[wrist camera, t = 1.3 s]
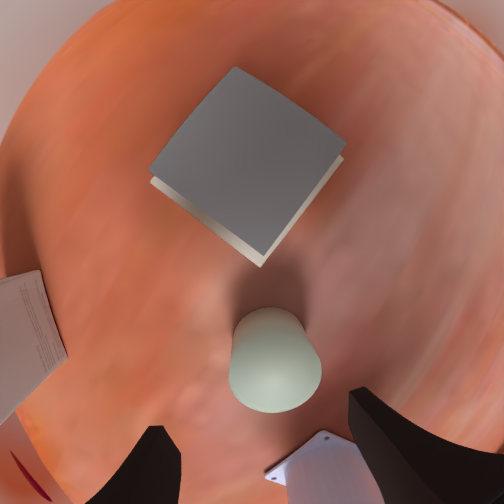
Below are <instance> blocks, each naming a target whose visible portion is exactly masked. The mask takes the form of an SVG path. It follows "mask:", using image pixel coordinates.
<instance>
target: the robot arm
mask: <svg viewBox="0 0 504 504" xmlns="http://www.w3.org/2000/svg"><path fill="white" fill-rule="evenodd" d="M348 424H349V427H350V430H351V433H352V435H353V438H354V441H355V443H356V444H355V443H353V442H351V441H348V440H346V439H343V438H341V437H339V436H337V435H334V434H332V433H330V432H328V431H325V430H323V431H320V432H318V433H317V434H316V435H315V436H313V437H312V438H311V439H310V440H309V441H308V442H306V443H305V444H304V445H303V446H301V447H300V448H299V449H298V450H296V451H295V452H294V453H293V454H291V455H290V456H289V457H287V458H286V459H285V460H283V461H282V462H281V463H279V464H278V465H277V466H275V467H274V468H272V469H271V470H270V471H268V472H267V473H265V479H268V480H270V481H273V482H276V483H279V484H282V485H285V486H286V489H287V496H288V503H289V504H504V454H495V453H488V452H483V451H478V450H474V449H471V448H467V447H464V446H461V445H457V444H455V443H452V442H450V441H447V440H445V439H442V438H440V437H438V436H436V435H434V434H432V433H430V432H428V431H426V430H424V429H422V428H421V427H419V426H417V425H415V424H414V423H412V422H411V421H409V420H408V419H406V418H405V417H403V416H402V415H400V414H399V413H397V412H396V411H395V410H393V409H392V408H391V407H389V406H388V405H387V404H385V403H384V402H383V401H382V400H380V399H379V398H378V397H377V396H375V395H374V394H373V393H372V392H371V391H369V390H368V389H367V388H366V387H361V388H358V389H355V390H352V391H349V412H348ZM325 437H327V438H325ZM180 482H181V453H180V451H179V450H178V448H177V447H176V445H175V444H174V442H173V441H172V439H171V438H170V436H169V435H168V433H167V432H166V430H165V428H164V427H163V426H149V427H148V428H147V429H146V431H145V432H144V434H143V435H142V437H141V438H140V439H139V441H138V442H137V444H136V445H135V447H134V448H133V450H132V451H131V453H130V454H129V455H128V457H127V458H126V459H125V461H124V462H123V464H122V465H121V466H120V468H119V469H118V470H117V471H116V473H115V474H114V475H113V476H112V477H111V479H110V480H109V481H108V482H107V483H106V484H105V485H104V486H103V488H102V489H101V490H100V491H99V492H98V493H97V494H95V495H94V496H93V497H92V498H91V499H90V500H89V501H87V502H86V503H85V504H178V499H179V491H180Z"/></svg>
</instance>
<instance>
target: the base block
mask: <svg viewBox="0 0 504 504" xmlns="http://www.w3.org/2000/svg"><path fill="white" fill-rule="evenodd" d="M343 160H344V158H343V157H342V156H340V155H338V157H337V158H336V160H335V161H334V162H333V164H332V165H331V166H330V168H329V169H328V170H327V172H326V173H325V175H324V176H323V177H322V179H321V180H320V181H319V183H318V184H317V185H316V187H315V188H314V190H313V191H312V192H311V194H310V195H309V196H308V198H307V199H306V200H305V202H304V203H303V204H302V206H301V207H300V208H299V210H298V211H297V212H296V214H295V215H294V216H293V218H292V219H291V221H290V222H289V223H288V225H287V226H286V227H285V229H284V230H283V231H282V233H281V234H280V235H279V237H278V238H277V239H276V241H275V242H274V243H273V245H272V246H271V247H270V249H269V250H268V251H267V253H266V254H265V255H264V256H263V255H261V254H260V253H259V252H257V251H256V250H255V249H253V248H252V247H251V246H249V245H248V244H247V243H245V242H244V241H243V240H241V239H240V238H239V237H237V236H236V235H234V234H233V233H232V232H230V231H229V230H228V229H226V228H225V227H224V226H222V225H221V224H220V223H218V222H217V221H216V220H214V219H213V218H211V217H210V216H209V215H207V214H206V213H205V212H203V211H202V210H201V209H199V208H198V207H197V206H195V205H194V204H193V203H191V202H190V201H188V200H187V199H186V198H184V197H183V196H182V195H180V194H179V193H178V192H176V191H175V190H174V189H172V188H171V187H169V186H168V185H167V184H165V183H164V182H163V181H161V180H160V179H159V178H157V177H156V176H154V177H153V178H152V180H151V181H150V183H151V184H152V185H154V186H155V187H156V188H158V189H159V190H160V191H161V192H163V193H164V194H165V195H167V196H168V197H169V198H170V199H172V200H173V201H174V202H176V203H177V204H178V205H179V206H181V207H182V208H183V209H185V210H186V211H187V212H188V213H190V214H191V215H192V216H194V217H195V218H196V219H197V220H199V221H200V222H201V223H203V224H204V225H205V226H207V227H208V228H209V229H210V230H212V231H213V232H214V233H216V234H217V235H218V236H219V237H221V238H222V239H223V240H225V241H226V242H227V243H229V244H230V245H231V246H232V247H234V248H235V249H236V250H238V251H239V252H240V253H242V254H243V255H244V256H245V257H247V258H248V259H249V260H251V261H252V262H253V263H255V264H256V265H257V266H258V267H261V266H262V265H263V263H264V262H265V261H266V260H267V258H268V257H269V256H270V254H271V253H272V252H273V251H274V249H275V248H276V247H277V246H278V244H279V243H280V242H281V240H282V239H283V238H284V237H285V235H286V234H287V233H288V231H289V230H290V229H291V228H292V226H293V225H294V224H295V222H296V221H297V220H298V219H299V217H300V216H301V215H302V213H303V212H304V211H305V209H306V208H307V207H308V206H309V204H310V203H311V202H312V200H313V199H314V198H315V196H316V195H317V194H318V193H319V191H320V190H321V189H322V187H323V186H324V185H325V183H326V182H327V181H328V179H329V178H330V177H331V175H332V174H333V173H334V172H335V170H336V169H337V168H338V166H339V165H340V164H341V162H342V161H343Z"/></svg>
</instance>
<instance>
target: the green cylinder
mask: <svg viewBox="0 0 504 504" xmlns="http://www.w3.org/2000/svg"><path fill="white" fill-rule="evenodd" d="M321 376H322V367H321V362H320V359H319V357H318V355H317V353H316V351H315V350H314V348H313V346H312V344H311V342H310V340H309V338H308V336H307V334H306V332H305V330H304V328H303V327H302V325H301V323H300V321H299V320H298V319H297V318H296V317H295V316H294V315H293V314H292V313H290V312H288V311H286V310H284V309H281V308H276V307H265V308H260V309H257V310H254V311H252V312H250V313H249V314H247V315H246V316H245V317H243V318H242V319H241V320H240V322H239V323H238V325H237V326H236V328H235V331H234V335H233V341H232V350H231V359H230V368H229V384H230V387H231V390H232V392H233V394H234V395H235V397H236V398H237V399H238V400H239V401H240V402H241V403H243V404H244V405H246V406H247V407H249V408H251V409H254V410H257V411H261V412H267V413H277V412H284V411H288V410H291V409H293V408H296V407H298V406H300V405H301V404H303V403H304V402H306V401H307V400H308V399H309V398H310V397H311V396H312V395H313V394H314V392H315V391H316V390H317V388H318V386H319V383H320V381H321Z"/></svg>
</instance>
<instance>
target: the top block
mask: <svg viewBox="0 0 504 504" xmlns="http://www.w3.org/2000/svg"><path fill="white" fill-rule="evenodd" d="M346 145H347V142H346V141H345V140H344V139H342V138H341V137H340V136H339V135H337V134H336V133H335V132H333V131H332V130H331V129H330V128H328V127H327V126H326V125H324V124H323V123H322V122H320V121H319V120H318V119H316V118H315V117H314V116H312V115H311V114H310V113H308V112H307V111H305V110H304V109H303V108H301V107H300V106H298V105H297V104H295V103H294V102H293V101H291V100H290V99H288V98H287V97H285V96H284V95H282V94H281V93H279V92H277V91H276V90H274V89H273V88H271V87H270V86H268V85H266V84H265V83H263V82H262V81H260V80H258V79H257V78H255V77H253V76H252V75H250V74H248V73H247V72H245V71H243V70H241V69H240V68H238V67H236V66H234V67H233V68H232V69H231V70H230V71H229V72H228V73H227V74H226V75H225V76H224V77H223V79H222V80H221V81H220V82H219V83H218V84H217V85H216V86H215V87H214V88H213V89H212V90H211V91H210V93H209V94H208V95H207V96H206V97H205V98H204V99H203V100H202V102H201V103H200V104H199V105H198V106H197V107H196V108H195V110H194V111H193V112H192V113H191V114H190V115H189V117H188V118H187V119H186V120H185V122H184V123H183V124H182V125H181V126H180V128H179V129H178V130H177V131H176V133H175V134H174V135H173V136H172V138H171V139H170V140H169V142H168V143H167V144H166V146H165V147H164V148H163V149H162V151H161V152H160V153H159V155H158V156H157V158H156V159H155V160H154V162H153V163H152V164H151V166H150V167H149V169H148V171H149V172H150V173H152V174H153V175H154V176H156V177H157V178H159V179H160V180H161V181H163V182H164V183H165V184H167V185H168V186H169V187H171V188H172V189H174V190H175V191H176V192H178V193H179V194H180V195H182V196H183V197H184V198H186V199H187V200H188V201H190V202H191V203H193V204H194V205H195V206H197V207H198V208H199V209H201V210H202V211H203V212H205V213H206V214H207V215H209V216H210V217H211V218H213V219H214V220H216V221H217V222H218V223H220V224H221V225H222V226H224V227H225V228H226V229H228V230H229V231H230V232H232V233H233V234H234V235H236V236H237V237H239V238H240V239H241V240H243V241H244V242H245V243H247V244H248V245H249V246H251V247H252V248H253V249H255V250H256V251H257V252H259V253H260V254H261V255H263V256H264V255H265V254H266V253H267V251H268V250H269V249H270V247H271V246H272V245H273V243H274V242H275V241H276V239H277V238H278V237H279V235H280V234H281V233H282V231H283V230H284V229H285V227H286V226H287V225H288V223H289V222H290V221H291V219H292V218H293V216H294V215H295V214H296V212H297V211H298V210H299V208H300V207H301V206H302V204H303V203H304V202H305V200H306V199H307V198H308V196H309V195H310V194H311V192H312V191H313V190H314V188H315V187H316V185H317V184H318V183H319V181H320V180H321V179H322V177H323V176H324V175H325V173H326V172H327V170H328V169H329V168H330V166H331V165H332V164H333V162H334V161H335V160H336V158H337V157H338V155H339V154H340V153H341V151H342V150H343V149H344V147H345V146H346Z"/></svg>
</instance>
